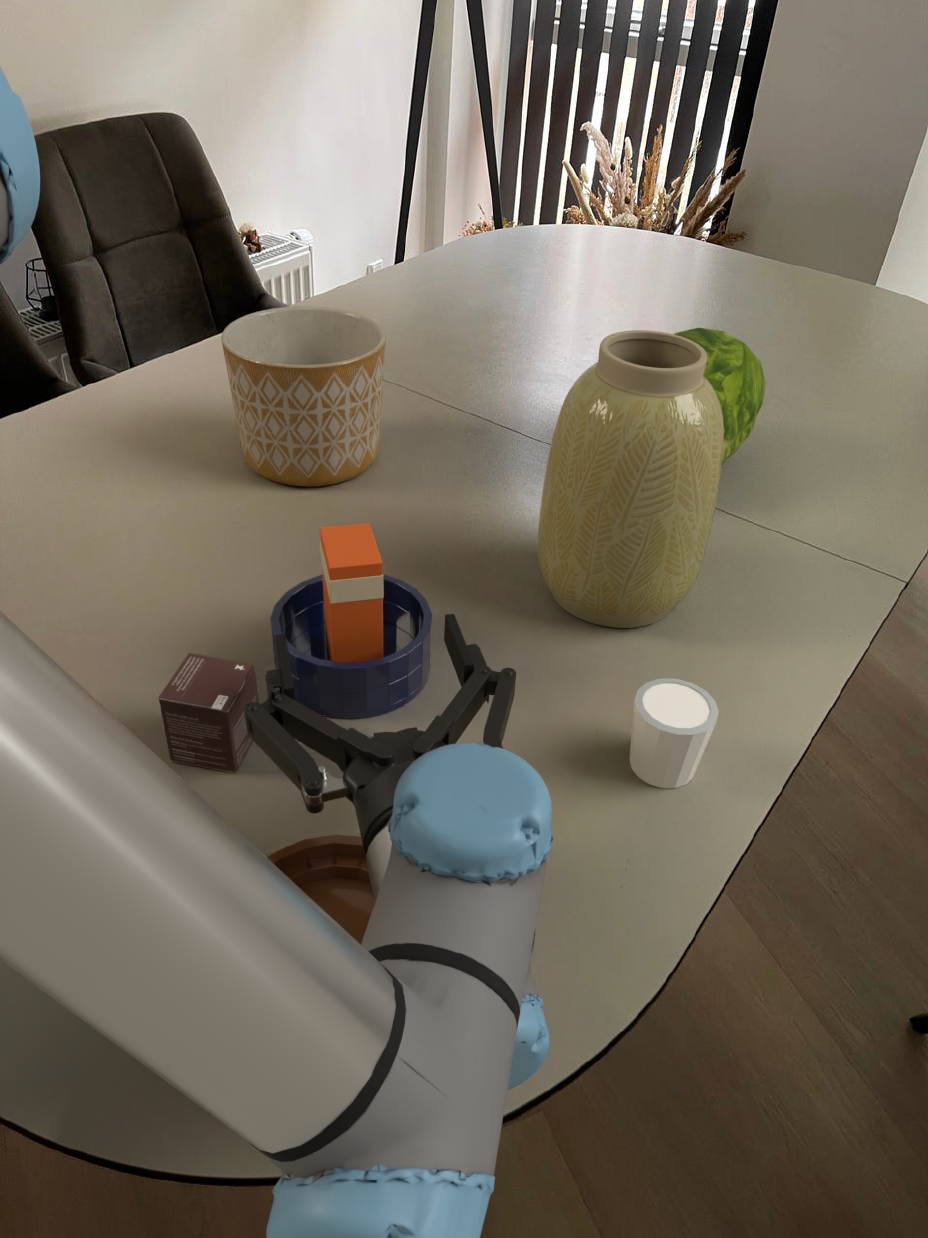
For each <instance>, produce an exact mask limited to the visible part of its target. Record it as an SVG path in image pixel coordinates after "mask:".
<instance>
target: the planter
mask: <svg viewBox="0 0 928 1238" xmlns="http://www.w3.org/2000/svg"><path fill="white" fill-rule="evenodd" d="M220 340H221V345H222V351H223V355H224V356H223V357H224V361H225V365H226V366H225V368H226V372H227V377H228V382H229V388H230V393H231V398H232V403H233V409H234V415H235V420H236V424H237V425H236V426H237V429H238V436H239V442H240V446H241V452H242V455H243V457H244V460H245V461H246V464H248V467H250V468H251V469H252V470H253V471H254V472H256V474H258V475H260V476H262V477H263V478H265V479H267V480H270V481H272V482H275V483H279V484H283V485H288V486H293V487H294V486H295V487H322V486H323V487H324V486H331V485H336V484H339V483H343V482H346V481H349V480H351V479H353V478H356V477H357V476H360V475H361V474H362V473H364V472H366V470H368V469H369V468H370V467H371V466H372V464H373V463H374V462H375V460H376V458H377V456H378V452H379V446H380V445H379V444H380V433H381V432H380V431H381V417H382V404H383V402H382V401H383V389H384V374H385V373H384V372H385V358H386V343H387V334H386V332H385V330H384V328H383V327H382V326H381V324H379V323H378V322H377V321H375V320H373V319H371V318H370V317H368V316H365V315H363V314H360V313H357V312H354V311H350V310H346V309H342V308H341V309H340V308H335V307H328V306H327V307H325V306H314V305H308V306H307V305H299V306H298V305H297V306H282V307H273V308H269V309H263V310H260V311H255V312H252V313H249V314H246V315H243V316H241V317H239V318H237V319H236V320H234V321H232V322H230V323H229V324H228V325H227V326H226V327H225V328H224V330H223V331H222V333H221V337H220Z"/></svg>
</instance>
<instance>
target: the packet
mask: <svg viewBox="0 0 928 1238" xmlns="http://www.w3.org/2000/svg"><path fill="white" fill-rule="evenodd" d="M319 551H320V552H319V553H320V563H321V575H322V578H323V596H324V614H325V631H326V643H327V648H328V653H329V657H330V661H335V662H341V663H348V662H365V661H370V660H374V659H379V658H383V597H384V595H383V574H384V573H383V571H384V570H383V561H382V557H381V553H380V551H379V548H378V545H377V541H376V538H375V535H374V532H373V530H372V526H371V523H370V522H365V523H353V524H343V525H333V526H331V525H330V526H323V527H322V526H321V527H319Z"/></svg>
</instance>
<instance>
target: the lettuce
mask: <svg viewBox="0 0 928 1238" xmlns="http://www.w3.org/2000/svg"><path fill="white" fill-rule="evenodd" d="M673 334H674V335H677V336H681V337H684V338H686V339H689V340H691V341H693V342H695V343H697V344H698V345H700V346H701V347H702V348H703V349H704V350H705V352H706V354H707V362H706V366H705V370H704V374H703V376H704V377H705V378H706V379H707V380H708V381H709V383H710V384H711V385H712V387H713V389H714V390H715V393H716V395H717V397H718V400H719V402H720V405H721V409H722V414H723V427H724V439H723V457H722V466H723V465H724V463H726V462H727V460H729V459H730V458H731V457H732V456H733V455H734V454H735V453H736V452H737V451H738V450H739V449H740V447H741V446H742V445H743V444H744V443H745V441H746V440H747V439H748V438H749V436H750V435H751V433H752V431H753V430H754V426H755V423H756V418H757V416H758V415H759V412H760V410H761V408H762V407H763V406H762V405H763V403H764V398H765V393H766V386H767V381H766V377H765V374H764V370H763V367H762V363H761V361H760V359H759V358H758V357H757V356H756V354H755V353H754V352H753V351H752V350H751V349H750V347H749V346H748V344H746V342H744V341H742V340H740V339H738V338H736V337H735V336H733V335H731V334H729V333H728V332H726V331H724V330H718V329H711V328H704V327H696V328H690V329H686V330H682V331H678V332H675V333H673Z"/></svg>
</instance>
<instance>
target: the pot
mask: <svg viewBox="0 0 928 1238" xmlns="http://www.w3.org/2000/svg"><path fill="white" fill-rule="evenodd" d="M383 595H384V597H383V658H379V659H374V660H370V661H365V662H348V663H341V662H335V661H330V657H329V653H328V648H327V643H326V631H325V614H324V596H323V578H322V574H320V575H317V576H314V577H311V578H309V579H306V580H303V581H300V582H299V583H298V584H296V585H295V586H293V587H292V588H289V590H287V591H286V592H285V593H284V594H283V595H282V596H281V597H280V598H279V600H277V602H276V603H275V605H274V607H273V609H272V612H271V615H270V621H269V622H270V631H271V638H272V639H271V640H272V649H273V660H274V667H275V669H279V664H278V655H277V645H276V635H277V634H285V635H286V641H287V647H288V653H289V659H290V665H291V671H292V677H293V683H294V690H295V701H297V702H299V703H301V704H302V705H304V706H306V707H308V708H309V709H311V710H313V711H315V712H316V713H318V714H320V715H322V716H323V717H326V718H328V717H329V718H333V719H341V720H343V719H344V720H358V719H367V718H372V717H378V716H382V715H385V714H389V713H391V712H393V711H395V710H398V709H400V708H402V707H403V706H405V705H407V704H408V703H410V702H411V701H412V700H414V699H415V698H416V697H417V696H418V695H419V694H420V693H421V691H423V689H424V688H425V686H426V685H427V683H428V681H429V677H430V674H431V665H432V664H431V663H432V646H433V645H432V643H433V611H432V610H431V606H430V603H429V601H428V600H427V598H425V596H424V595H423V594H422V593H421V592H420V591H419V590H418V589H417V588H416V587H414V586H413V585H411V584H409V583H408V582H406V581H404V580H402V579H400V578H397V577H394V576H391V575H388V574H384V573H383Z"/></svg>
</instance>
